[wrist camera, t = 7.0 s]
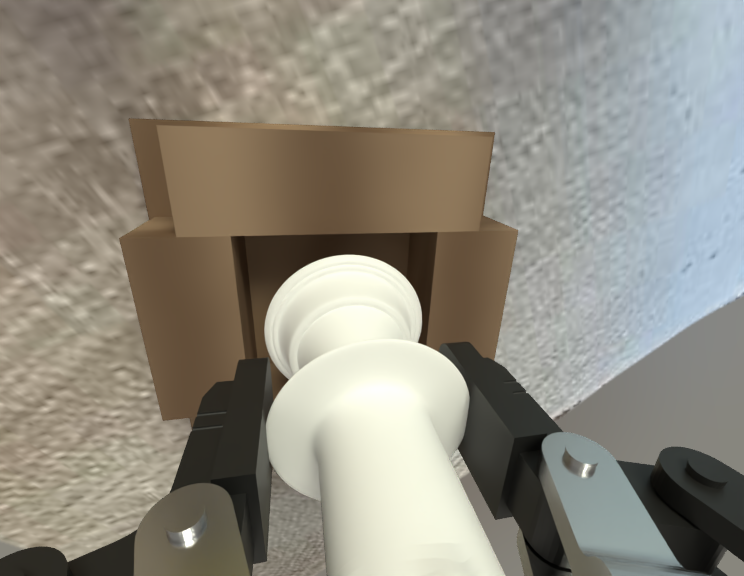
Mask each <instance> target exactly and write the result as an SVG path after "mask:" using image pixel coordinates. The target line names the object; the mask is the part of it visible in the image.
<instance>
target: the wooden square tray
mask: <svg viewBox="0 0 744 576" xmlns="http://www.w3.org/2000/svg"><path fill="white" fill-rule="evenodd" d="M129 123H130V128H131V133H132V138H133V143H134V148H135V153H136V158H137V162H138V167H139V172H140V177H141V182H142V187H143V192H144V197H145V202H146V207H147V211H148V216H149V221H147V222H146V223H144V224H142V225H141V226H139V227H137V228H136V229H134V230H132V231H131V232H129V233H127V234H126V235H124V236H122V237H121V238H119V240H120V244H121V248H122V252H123V257H124V261H125V265H126V269H127V273H128V277H129V282H130V286H131V290H132V294H133V298H134V302H135V307H136V311H137V315H138V319H139V323H140V327H141V331H142V336H143V340H144V344H145V348H146V352H147V356H148V361H149V365H150V369H151V373H152V377H153V381H154V386H155V390H156V394H157V398H158V402H159V406H160V411H161V415H162V419H163V421H164V420H173V419H183V418H190V422H191V427H193V424H194V421H195V418H196V417H197V412H198V409H199V406H200V403H201V400H202V397H203V396H204V395H205V394H206V393H207V392H208V391H209V390H210V388H211V387H212V386H213V385H214V384H215V383H216V382H222V381H233V380H234V377H235V373H236V368H237V364H238V361H239V360H242V359H254V358H266V357H269V359H270V367H271V378H272V390H273V401H274V400H275V398H276V396H277V395H278V393H279V392H280V390H281V389H282V388H283V386H284V385H285V384H286V383H287V382H288V380H289V379H288V378H286V377H285V376H284V375H283V374H282V373H281V372H280V371H279V369H278V368H277V367H276V365H275V364H274V362H273V361H272V359H271V357H270V355H269V352H268V350H267V346H266V342H265V334H264V327H265V319H266V314H267V311H268V308H269V305H270V303H271V301H272V299H273V297H274V295H275V294H276V292H277V291H278V290H279V288H280V287H281V286H282V285H283V283H284V282H285V281H286V280H287V279H288V278H289V277H291V276H292V275H293V274H294V273H296V272H297V271H298V270H300V269H301V268H303V267H305V266H307V265H309V264H311V263H313V262H315V261H318V260H320V259H324V258H327V257H332V256H338V255H361V256H367V257H371V258H374V259H377V260H380V261H382V262H385V263H387V264H388V265H390V266H392V267H393V268H395V269H396V270H398V271H399V272H400V273H401V274H402V275H403V276H404V277H405V278H406V279H407V280H408V281H409V283H410V284H411V285H412V287H413V288H414V290H415V292H416V294H417V297H418V299H419V302H420V306H421V312H422V327H421V333H420V337H419V340H418V343H420V344H423V345H425V346H428V347H430V348H432V349H434V350H436V351H438V352H439V348H440V346H441V344H443V343H455V342H470V343H471V344H472V345H473V346H474V348H475V349H476V350H477V351H478V352H479V353H480V355H481V356H482V357H483V358H487V357H488V358H490V359H492V360H493V361H494V358H495V353H496V347H497V342H498V337H499V331H500V326H501V321H502V315H503V310H504V304H505V299H506V294H507V288H508V283H509V278H510V272H511V267H512V261H513V256H514V251H515V245H516V240H517V235H518V230H516V229H514V228H511V227H509V226H507V225H504V224H502V223H500V222H497V221H495V220H492V219H490V218H488V217H485V216H483V211H484V204H485V197H486V190H487V183H488V176H489V170H490V163H491V156H492V149H493V142H494V135H495V132H474V131H448V130H421V129H395V128H368V127H342V126H315V125H289V124H262V123H236V122H210V121H183V120H157V119H130V118H129ZM272 468H273V467H272Z"/></svg>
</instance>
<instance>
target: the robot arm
mask: <svg viewBox="0 0 744 576" xmlns="http://www.w3.org/2000/svg"><path fill="white" fill-rule="evenodd" d="M439 353H441V354H442V355H444V356H445V357H446V358H447V359H449V360H450V361H451V362H452V363H453V364H454V365H455V366H456V368H457V369H458V370H459V372H460V373H461V375H462V376H463V378H464V380H465V382H466V385H467V388H468V391H469V396H470V401H469V409H468V416H467V422H466V428H465V433H464V437H463V439H462V441H461V443H460V445H459V447H458V450H459V452H460V454H461V456H462V457H463V459H464V461H465V463H466V465H467V467H468V469H469V471H470V473H471V475H472V476H473V478H474V480H475V482H476V484H477V486H478V488H479V490H480V492H481V493H482V495H483V497H484V499H485V501H486V503H487V504H488V507H489V509H490V511H491V513H492V514H493V516H494V518H495V520H497V519H502V518H507V517H512V516H513V517H514V519H515V520H516V522H517V524H518V526H519V530H518V533H517V547H518V551H519V555H520V559H521V564H522V567H523V572H524V576H727V575H726V574H725V573H723V572H722V571H721V570H720V569H718V568H717V565H718V564H719V562H720V560H721V559H722V557H723V555H724V554H725V552H726V551H727V550H729V551H730V552H731V553H733V554H734V555H735V556H737V557H738V558H739V559H741V560H742V561H743V562H744V475H742V474H740V473H739V472H737V471H735V470H734V469H732V468H730V467H729V466H727V465H725V464H724V463H722V462H720V461H719V460H717V459H715V458H713V457H711V456H709V455H706V454H704V453H701V452H699V451H695V450H693V449H689V448H684V447H669V448H665V449H663V450H662V451H661V453H660V455H659V457H658V459H657V461H656V464H655V466H654V465H647V464H639V463H632V462H624V461H617V460H615V458H614V457H613V456H612V455H611V454H610V453H609V452H608V451H607V450H606V449H604V448H603V447H602V446H600V445H599V444H597V443H595V442H594V441H592V440H590V439H588V438H586V437H583V436H580V435H577V434H573V433H567V432H563V431H562V430H561V429H560V428H559V427H558V425H557V424H556V423H555V422H554V421H553V420H552V419H551V418H550V417H549V416H548V414H547V413H546V412H545V411H544V410H543V409H542V408H541V407H540V406H539V405H538V403H537V402H536V401H535V400H534V399H533V398H532V397H531V396H530V395H529V394H528V393H526V390H525V389H524V388H523V387H522V386H521V385H520V384H519V383H517V382H516V379H515V378H514V377H513V376H512V375H511V374H510V373H509V372H508V370H507V369H506V368H505V367H503V366H502V365H500V364H498V363H497V362H495V361H493V360H492V359H490V358H488V357H487V358H483V357H482V356H481V355H480V353H479V352H478V351H477V350H476V349H475V348H474V346H473V345H472V344H471V343H470V342H455V343H443V344H441V346H440V348H439ZM273 402H274V401H273V390H272V378H271V367H270V359H269V357H266V358H254V359H242V360H239V361H238V364H237V368H236V373H235V377H234V380H233V381H222V382H216V383H215V384H214V385H213V386H212V387H211V388H210V390H209V391H208V392H207V393H206V394H205V395H204V396H203V397H202V400H201V403H200V406H199V409H198V412H197V417H196V418H195V421H194V424H193V427H192V431H191V433H190V436H189V439H188V442H187V445H186V448H185V450H184V453H183V456H182V459H181V462H180V465H179V468H178V471H177V474H176V477H175V480H174V483H173V486H172V489H171V491H170V494H168V495H166V496H165V497H164V498H162V499H161V500H160V501H158V502H157V503H156V504H155V505H154V506H153V507H152V508H151V509H150V510H149V511H148V513H147V514H146V515H145V517H144V518H143V520H142V521H141V523H140V525H139V527H138V529H137V530H136V531H134V532H133V533H131V534H129V535H128V536H126V537H124V538H122V539H120V540H118V541H116V542H114V543H111V544H109V545H107V546H104V547H102V548H100V549H97V550H95V551H93V552H90V553H88V554H86V555H83V556H81V557H79V558H77V559H74V560H72V561H70V562H67V560H66V558H65V556H64V555H63V554H62V553H61V552H60V551H59V550H57V549H55V548H51V547H33V548H28V549H24V550H21V551H18V552H15V553H13V554H10V555H8V556H5V557H3V558H1V559H0V576H252V570H253V564H256V563H261V562H266V561H267V548H268V531H269V514H270V497H271V480H272V465H271V463H270V460H269V453H268V444H267V434H266V420H267V417H268V413H269V411H270V408H271V406H272V404H273Z"/></svg>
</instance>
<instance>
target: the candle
mask: <svg viewBox="0 0 744 576" xmlns="http://www.w3.org/2000/svg"><path fill="white" fill-rule="evenodd" d="M421 327H422V312H421V306H420V302H419V299H418V297H417V294H416V292H415V290H414V288H413V287H412V285H411V284H410V283H409V281H408V280H407V279H406V278H405V277H404V276H403V275H402V274H401V273H400V272H399V271H398V270H396V269H395V268H393V267H392V266H390V265H388V264H387V263H385V262H382V261H380V260H377V259H374V258H371V257H367V256H361V255H338V256H332V257H327V258H324V259H320V260H318V261H315V262H313V263H311V264H309V265H307V266H305V267H303V268H301V269H300V270H298V271H297V272H296V273H294V274H293V275H292V276H291V277H289V278H288V279H287V280H286V281H285V282H284V283H283V285H282V286H281V287H280V288H279V290H278V291H277V292H276V294H275V295H274V297H273V299H272V301H271V303H270V305H269V308H268V311H267V314H266V319H265V327H264V334H265V342H266V346H267V350H268V352H269V355H270V357H271V359H272V361H273V362H274V364H275V365H276V367H277V368H278V369H279V371H280V372H281V373H282V374H283V375H284V376H285V377H286V378H288V379H289V380H288V382H287V383H286V384H285V385H284V386H283V388H282V389H281V390H280V392H279V393H278V395H277V396H276V398H275V400H274V402H273V404H272V406H271V408H270V411H269V413H268V417H267V420H266V434H267V444H268V453H269V460H270V463H271V465H272V467H273V468H274V470H275V471H276V473H277V474H278V475H279V476H280V478H281V479H282V480H283V481H284V482H285V483H287V484H288V485H289V486H290V487H292V488H293V489H294V490H296V491H298V492H299V493H301V494H303V495H305V496H308V497H310V498H313V499H316V500H319V501H321V508H322V521H323V534H324V547H325V560H326V572H327V576H505V574H504V571H503V570H502V568H501V565H500V563H499V561H498V559H497V557H496V555H495V553H494V551H493V549H492V547H491V544H490V542H489V540H488V538H487V536H486V534H485V532H484V530H483V528H482V526H481V524H480V522H479V520H478V517H477V516H476V513H475V511H474V509H473V507H472V505H471V503H470V501H469V499H468V497H467V495H466V493H465V491H464V488H463V486H462V484H461V482H460V480H459V478H458V476H457V474H456V472H455V470H454V468H453V465H452V463H451V461H450V458H451V457H452V455H453V454H454V453H455V451H456V450H457V448H458V447H459V445H460V443H461V441H462V439H463V437H464V433H465V428H466V422H467V416H468V409H469V401H470V396H469V391H468V388H467V385H466V382H465V380H464V378H463V376H462V375H461V373H460V372H459V370H458V369H457V368H456V366H455V365H454V364H453V363H452V362H451V361H450V360H449V359H447V358H446V357H445V356H444V355H442V354H441V353H439V352H438V351H436V350H434V349H432V348H430V347H428V346H425V345H423V344H420V343H418V340H419V337H420V333H421Z"/></svg>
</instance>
